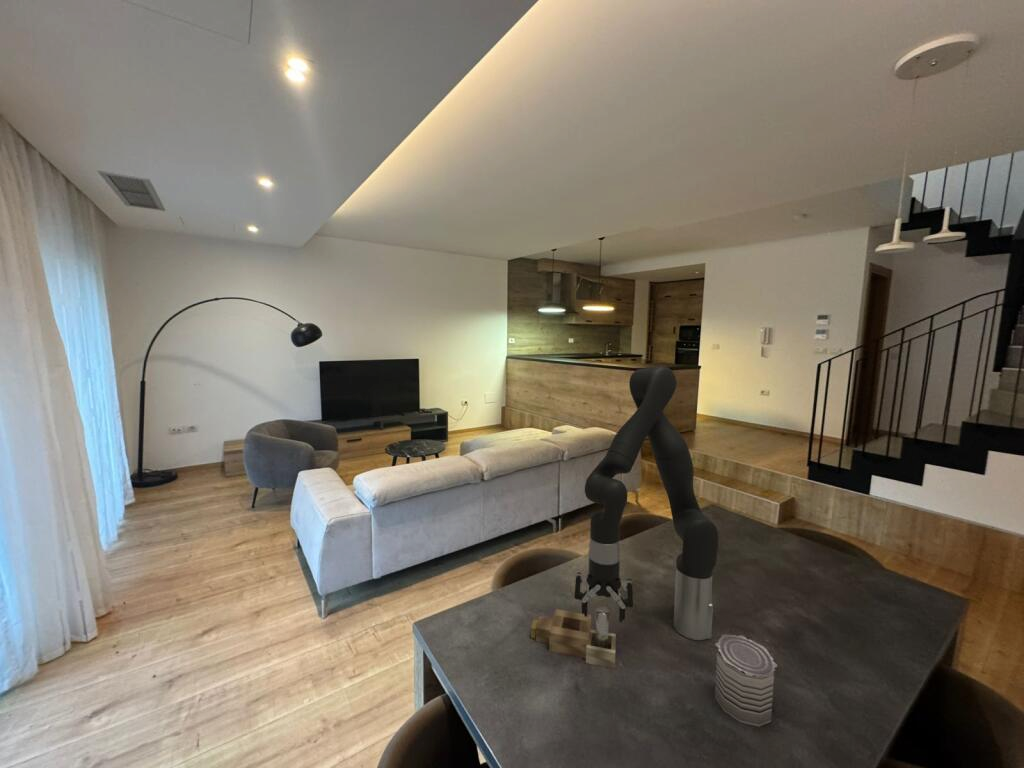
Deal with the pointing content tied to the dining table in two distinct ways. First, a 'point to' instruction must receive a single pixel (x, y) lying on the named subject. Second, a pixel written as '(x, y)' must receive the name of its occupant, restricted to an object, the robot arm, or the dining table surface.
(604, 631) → the rod
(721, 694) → the can
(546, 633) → the socket block
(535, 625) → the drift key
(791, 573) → the dining table surface
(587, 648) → the frame
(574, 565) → the dining table surface
